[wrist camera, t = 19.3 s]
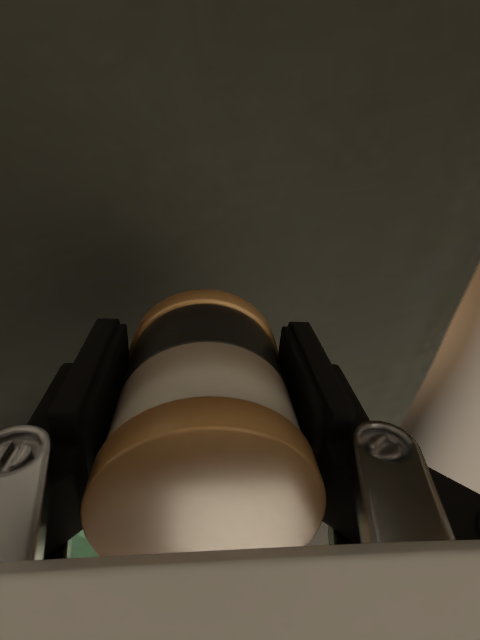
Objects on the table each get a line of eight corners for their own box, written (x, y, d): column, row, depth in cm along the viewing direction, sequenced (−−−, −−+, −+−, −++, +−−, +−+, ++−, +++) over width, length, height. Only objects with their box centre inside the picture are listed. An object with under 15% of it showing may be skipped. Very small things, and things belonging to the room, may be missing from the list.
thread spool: (127, 285, 10) (60, 430, 6) (282, 289, 11) (349, 426, 6) (136, 408, 12) (94, 595, 8) (267, 407, 13) (307, 582, 8)
